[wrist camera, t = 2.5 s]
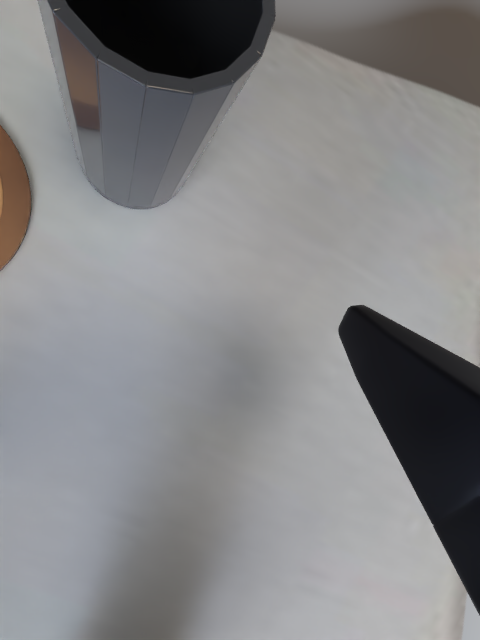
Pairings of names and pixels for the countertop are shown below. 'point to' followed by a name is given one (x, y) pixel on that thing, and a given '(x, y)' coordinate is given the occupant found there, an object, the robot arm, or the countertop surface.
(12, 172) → the trivet
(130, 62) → the grey metal tumbler
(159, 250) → the countertop surface
